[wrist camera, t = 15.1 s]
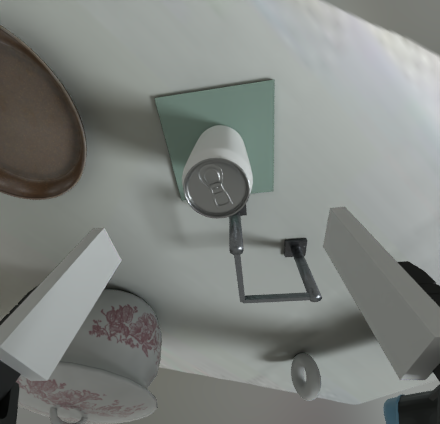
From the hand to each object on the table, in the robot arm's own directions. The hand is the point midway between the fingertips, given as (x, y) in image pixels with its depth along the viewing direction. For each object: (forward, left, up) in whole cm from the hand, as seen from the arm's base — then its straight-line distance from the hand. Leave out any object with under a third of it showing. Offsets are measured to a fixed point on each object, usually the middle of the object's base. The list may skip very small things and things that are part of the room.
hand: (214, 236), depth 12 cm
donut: (-15, +61, -19) cm, 65 cm away
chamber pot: (+29, +35, -19) cm, 49 cm away
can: (0, 0, -18) cm, 18 cm away
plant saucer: (+26, -7, -19) cm, 33 cm away
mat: (0, 0, -18) cm, 18 cm away
